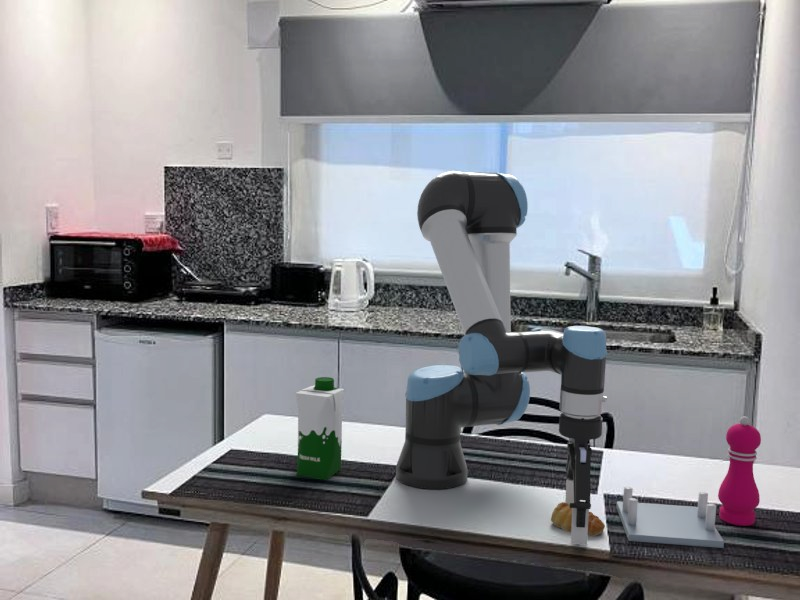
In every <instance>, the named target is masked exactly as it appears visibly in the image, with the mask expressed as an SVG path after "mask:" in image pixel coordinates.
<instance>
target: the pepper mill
mask: <svg viewBox="0 0 800 600" xmlns="http://www.w3.org/2000/svg"><path fill="white" fill-rule="evenodd" d="M750 422H751V420H750V418H749V417H748V416H744V415H743V416H741V417H740V418H739V423H736V424H733V425H730V427H729V428H728V429H727V431H726V434H725V440H726V442H727V444H728V446H729V447H728V448H727V457H729V465H728V469H727V472H726V475H725V477H724V479H723V480H722V481H721V483H720V485H719V489H718V493H717V494H718V495H717V498H718V501H719V502H720V503H721V506H720V507H719V516H718V517H719V519H720V520H722V521H723V522H726V523H728V524H730V525H735V526H744V527H745V526H747V527H748V526H752V525H754V524H755V522H756V512H755V509H756V508H757V507H758V506H759V504H760V501H761V500H760V492H759V489H758V486H757V484H756V481H755V476H754V461H756V460H757V455H758V452H757V451H756V450H757V449H758V448H759V447H760V445H761V442H762V437H761V434H760V431H759V430H758V429H757V428H756V427H755V426H753V425H751V424H750Z"/></svg>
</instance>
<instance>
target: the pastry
mask: <svg viewBox="0 0 800 600" xmlns="http://www.w3.org/2000/svg"><path fill="white" fill-rule="evenodd" d="M550 521H551V523H552V524H553V525H554V526H555V527H556V528H557V529H559V528H561V529H562V530H563V531H566V532H569V533H571V526H572V508H570V506H569V504H568V503H565V501H564V502H563V501H562V502H559V503H557V504H556V507H555V508H554V509H553V511H552V513H551V518H550ZM604 530H605V524H604V522H603V521H602V520H601V519H600V518H599V516H597V515H595V514H594V513H593V512H592V511H589V516H588V535H587V537H589V536H593V537H596V536H599V535H601V534H602V533H603V532H604Z"/></svg>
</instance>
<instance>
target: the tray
mask: <svg viewBox="0 0 800 600" xmlns="http://www.w3.org/2000/svg"><path fill="white" fill-rule="evenodd" d="M633 492H634V491H633V487H631V486H624V487H623V496H622V497H623V498H622V501H616V505H615V508H616V511H617V512H618V516H619V518H620V521H621V524H622V526H623V529H624V532H625V535H626V538H627V539H628V541H629V542H637V543H638V542H640V543H654V544H666V545H678V546H679V545H681V546H691V547H692V546H693V547H707V548H719V549H724V548H725V547H724V545H725V539H723V538H722V536H721V534H720V533H719V531H718V530H717V528H716V527H715V526H716V525H715V524H716V516H717V515H716V514H717V504H715V503H708V499H709V493H708V492H705V491H699V492H698V499H697V506H691V505H690V506H689V505H675V504H673V505H672V504H661V503H649V502H648V503H646V502H639V500H638V498H634V497H633Z"/></svg>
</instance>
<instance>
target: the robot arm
mask: <svg viewBox="0 0 800 600" xmlns="http://www.w3.org/2000/svg"><path fill="white" fill-rule="evenodd" d="M528 205H529V204H528V196H527V194H526V191H525V187H524V186H523V184H522V183H521V182H520V180H519V179H518V178H517V177H515V175H512V174H506V173H500V172H477V171H476V172H475V171H474V172H472V171H469V172H468V171H457V170H456V171H455V170H451V171H447V172H443V173H441V174H439V175H436V177H434V178H432V179H431V180H430V181H429V182H428V183H427V185H425V187H424V189H423V190H422V192H421V194H420V197H419V200H418V203H417V213H416V214H417V221H418V227H419V230H420V233H421V235H422V237H423V239H425V240H426V241H428V242H430V245H431V247H432V250H433V253H434V256H435V258H436V261H437V264H438V267H439V269H440V272H441V274H442V277H443V281H444V282H445V286H446V288H447V291H448V294H449V297H450V299H451V302H452V303H453V304H452V305H453V307H454V310H455V312H456V315H457V318H458V321H459V323H460V326H461V329H462V332H463V337H462V338H461V339H460V341H459V344H458V349H457V351H458V357H459V358H458V361H459V364H460V366H461V367H460V366H457V365H452V364H451V365H450V364H445V365H441V364H440V365H439V364H436V365H429V366H425V367H420V368H418V369H416V370H414V371H413V372H411V374H410V375H409V376H408V378H407V382H406V391H405V394H404V395H405V430H404V431H405V435H404V436H405V438H404V442H403V446H402V449H401V452H400V454H399V457H398V461H397V462H396V467H395V468H396V469H395V477H396V479H397V480H398V481H399V482H400V483H403V484H404V485H406V486H410V487H413V488H417V489H418V488H419V489H427V490H442V489H452V488H455V487H459V486H462V485H463V484H465V483H466V482H467V480H468V465H467V463H466V458H465V455H464V452H463V448H462V445H461V430H462V429H461V428H468V427H469V428H470V427H478V426H489V425H498V426H499V425H500V426H501V425H504V424H506V423H507V424H508V423H514V422H516V421H518V420H520V419H521V417H522V416H523V415H524V414H525V413H526V411H527V409H528V405H529V402H530V398H531V397H530V395H531V387H530V382H529V381H528V376H527V374H526V373H533V372H535V373H536V372H537V373H538V372H552V373H555V374H558V375H560V376H561V380H560V381H561V383H560V393H559V410H560V411H561V413H560V414H559V417H558V419H559V420H558V432H559V435H561V436H563V437H565V438H567V439H569V440H568V442H567V446H566V448H567V453H566V454H567V458H566V466H565V471H566V475H565V476H566V481H565V482H566V483H565V500H564V502H565V503H568V504H569V506H570V508H572V526H571V532H570V544H572V545H573V544H575V545H577V544H578V545H585V546H586V545H588V536H589V535H588V516H589V512H590V510H591V509H592V508H591V507H592V504H591V468H592V466H591V465H592V463H591V458H592V455H593V451H592V450H593V449H592V447H591V444H590V443H588V442H589V441H591V440H597V439H599V438H601V436H603V435H602V434H603V417H602V416H601V415H602V414H603V411H604V404H603V403H605V402H607V401H608V397H607V396H605V395H604V391H605V380H606V379H605V378H606V364H607V355H608V351H607V350H608V349H607V334H606V331H604V329H602V328H599V327H595V326H587V325H573V326H572V325H570V326H567V327H565V328H564V330H563V332H562V331H558V330H555V329H553V328H549V327H547V328H545V327H535V328H532V329H531V330H529V331H513V332H511V331H512V329H511V328H512V327H511V325H512V323H511V321H512V320H511V319H512V318H511V317H512V315H511V256H510V255H511V254H510V253H511V252H510V251H511V250H510V248H511V247H510V246H511V245H510V244H511V242H512V241H513V240H514V239H515V237H516V236H517V235H518V233H517V229H519V228H520V227H522V225H523V224H524V223H525V221H526V217H527V216H528V207H529V206H528ZM587 535H588V536H587Z"/></svg>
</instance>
